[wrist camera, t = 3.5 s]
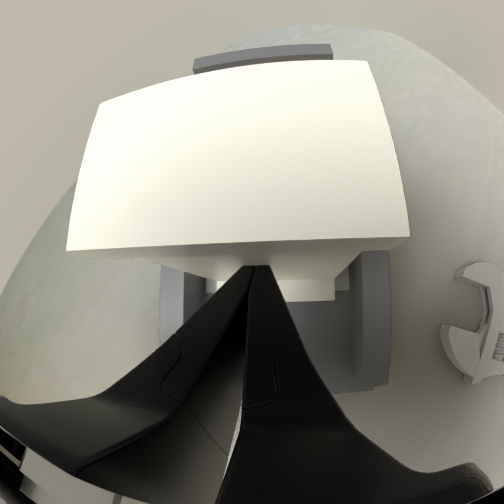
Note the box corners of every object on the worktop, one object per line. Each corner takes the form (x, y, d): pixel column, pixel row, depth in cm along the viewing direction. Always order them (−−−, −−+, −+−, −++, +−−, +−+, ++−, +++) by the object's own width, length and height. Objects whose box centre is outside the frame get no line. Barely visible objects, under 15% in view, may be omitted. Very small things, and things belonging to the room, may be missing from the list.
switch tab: (337, 300, 13) (414, 285, 3) (216, 301, 14) (63, 286, 5) (332, 201, 14) (359, 42, 4) (218, 207, 15) (107, 83, 5)
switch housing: (367, 382, 14) (395, 417, 8) (193, 379, 15) (145, 406, 10) (344, 100, 17) (350, 42, 12) (204, 112, 19) (176, 61, 13)
